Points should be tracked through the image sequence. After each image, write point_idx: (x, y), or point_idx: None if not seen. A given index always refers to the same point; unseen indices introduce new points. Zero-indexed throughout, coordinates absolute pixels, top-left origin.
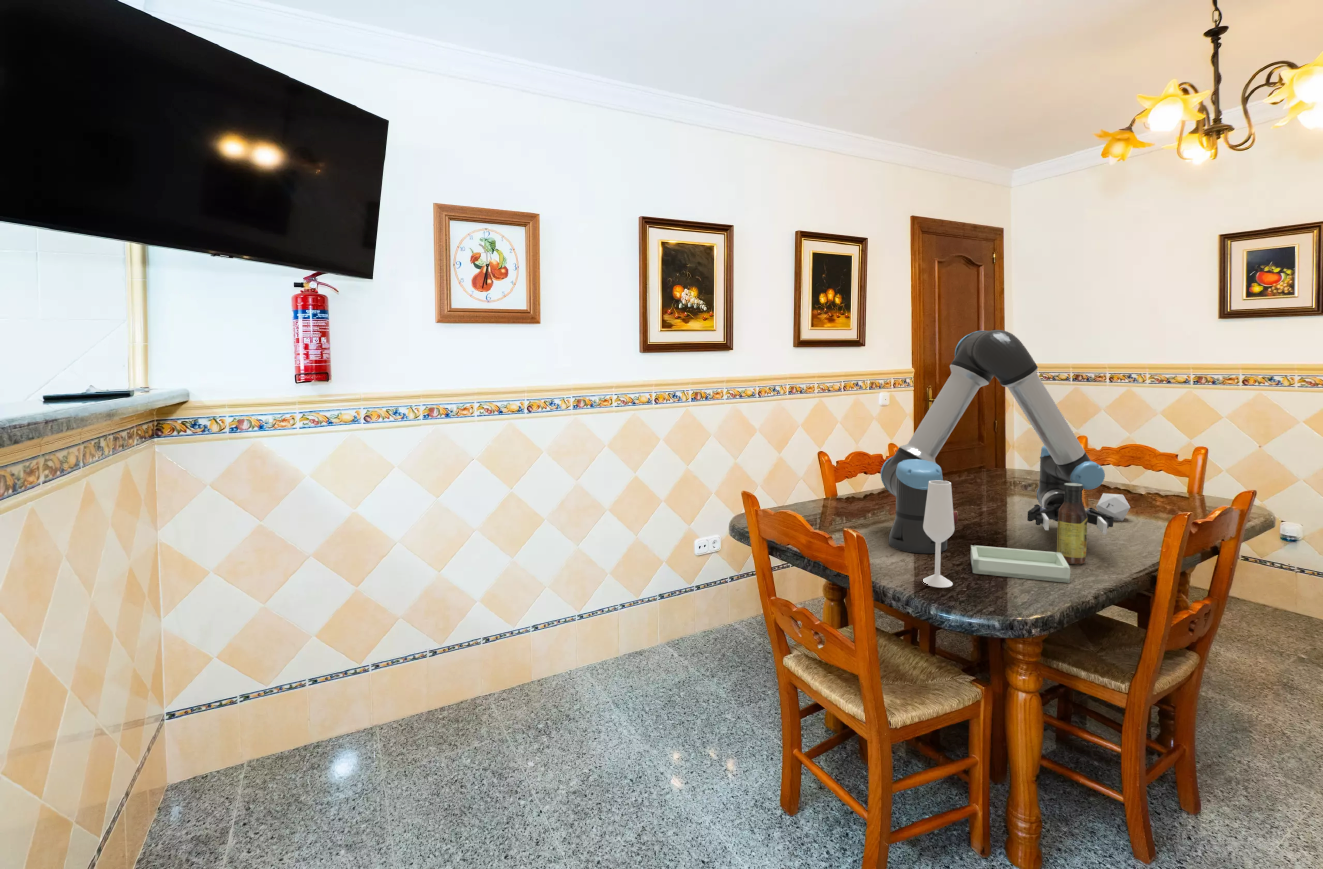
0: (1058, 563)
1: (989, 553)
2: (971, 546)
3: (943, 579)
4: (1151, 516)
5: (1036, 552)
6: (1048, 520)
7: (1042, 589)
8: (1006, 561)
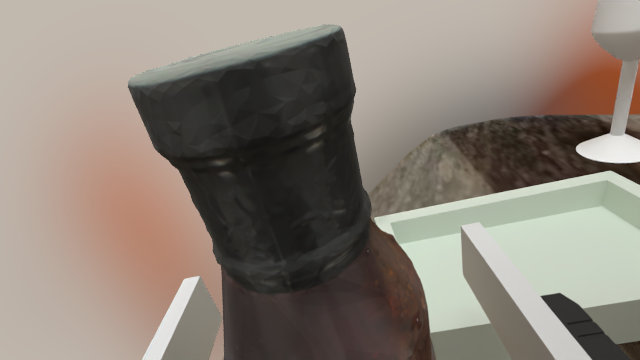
0: None
1: None
2: None
3: (596, 139)
4: None
5: None
6: (463, 229)
7: (426, 202)
8: (527, 192)
